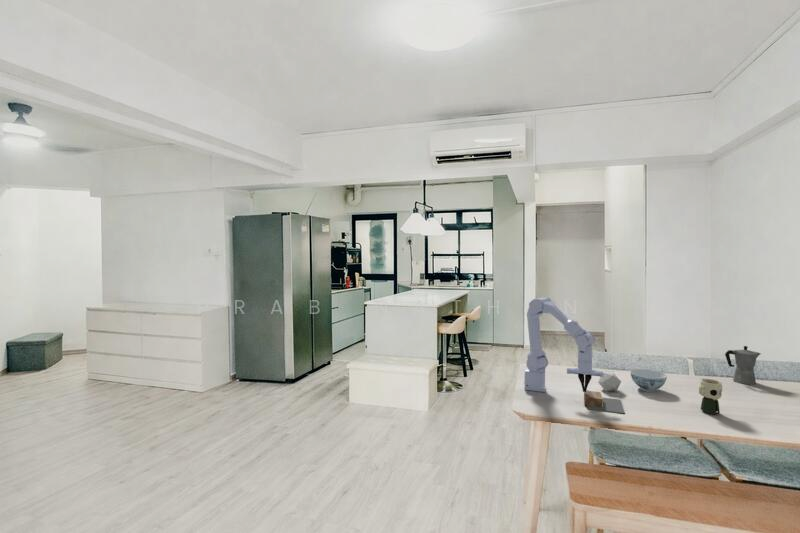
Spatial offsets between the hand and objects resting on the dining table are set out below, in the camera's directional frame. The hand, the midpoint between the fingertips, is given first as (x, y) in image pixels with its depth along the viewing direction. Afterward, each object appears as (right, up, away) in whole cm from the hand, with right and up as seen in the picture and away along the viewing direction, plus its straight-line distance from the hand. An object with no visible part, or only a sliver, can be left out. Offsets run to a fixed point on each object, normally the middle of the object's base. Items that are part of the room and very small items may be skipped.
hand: (584, 391), depth 187 cm
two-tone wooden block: (0, -3, 0) cm, 3 cm away
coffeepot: (+89, -3, +26) cm, 93 cm away
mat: (+7, -5, -3) cm, 9 cm away
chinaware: (+37, -4, +16) cm, 40 cm away
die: (+18, -4, +15) cm, 24 cm away
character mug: (+46, -5, -12) cm, 48 cm away
